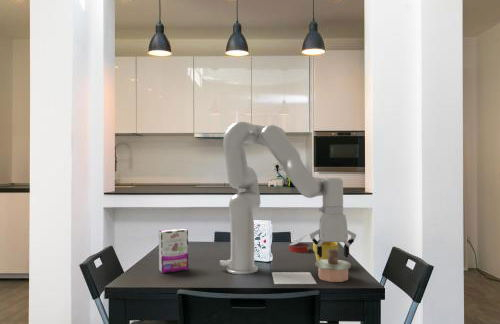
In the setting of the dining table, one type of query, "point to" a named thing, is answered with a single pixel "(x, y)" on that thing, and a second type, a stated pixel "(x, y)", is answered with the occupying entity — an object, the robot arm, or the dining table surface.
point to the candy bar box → (173, 250)
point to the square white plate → (293, 278)
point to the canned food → (298, 246)
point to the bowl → (333, 275)
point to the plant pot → (325, 249)
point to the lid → (332, 262)
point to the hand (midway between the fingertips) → (333, 256)
